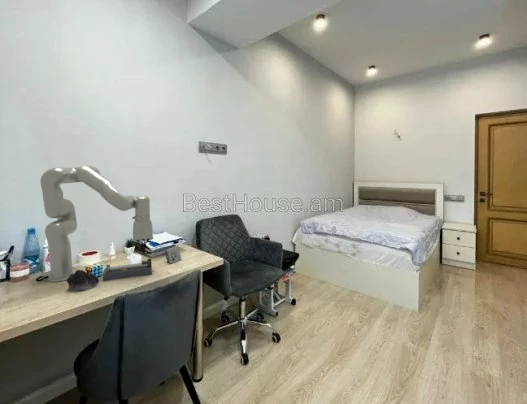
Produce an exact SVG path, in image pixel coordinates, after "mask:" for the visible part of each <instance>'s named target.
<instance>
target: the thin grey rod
mask: <svg viewBox="0 0 527 404" xmlns="http://www.w3.org/2000/svg"><path fill="white" fill-rule="evenodd" d="M145 265H148V261H147V260H141V262H138V263H132V264H131V263H130V264H124V265H116V266H110V267H109V270H115V269H123V268H130V267H138V266H145Z"/></svg>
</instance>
